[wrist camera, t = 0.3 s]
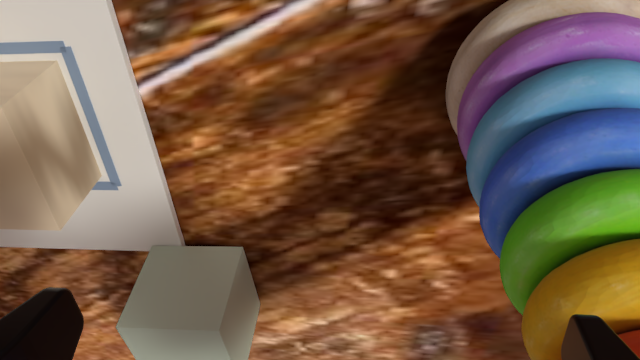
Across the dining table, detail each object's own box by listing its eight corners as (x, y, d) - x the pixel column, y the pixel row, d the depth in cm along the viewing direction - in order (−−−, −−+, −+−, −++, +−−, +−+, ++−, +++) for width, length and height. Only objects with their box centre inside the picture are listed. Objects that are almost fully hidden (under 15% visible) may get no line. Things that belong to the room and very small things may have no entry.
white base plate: (186, 247, 29) (183, 252, 29) (-15, 241, 31) (-20, 246, 31) (88, -75, 20) (83, -72, 19) (-192, -57, 21) (-202, -54, 21)
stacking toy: (409, 115, 23) (404, 776, 9) (521, -69, 17) (915, 875, 4) (573, 177, 24) (785, 846, 10) (726, 22, 18) (1600, 999, 5)
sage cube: (260, 304, 31) (241, 386, 28) (178, 301, 32) (149, 381, 28) (243, 246, 28) (219, 330, 24) (152, 245, 29) (115, 327, 25)
